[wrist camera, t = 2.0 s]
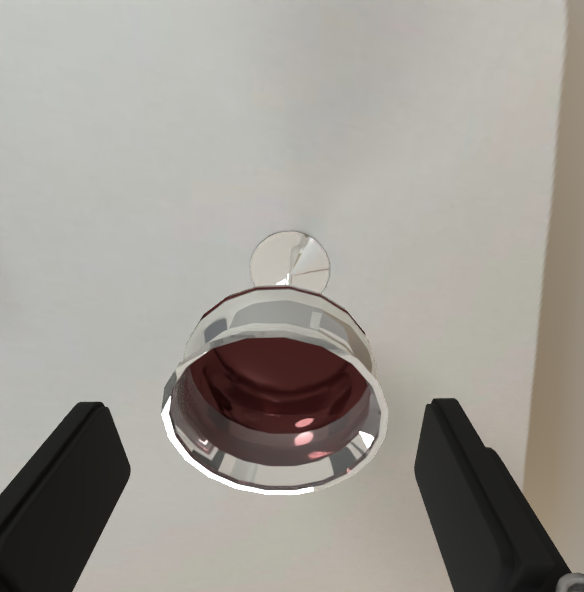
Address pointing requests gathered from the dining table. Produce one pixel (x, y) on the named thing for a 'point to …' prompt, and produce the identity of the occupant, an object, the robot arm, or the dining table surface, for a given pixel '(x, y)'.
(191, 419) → the wineglass
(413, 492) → the dining table surface
